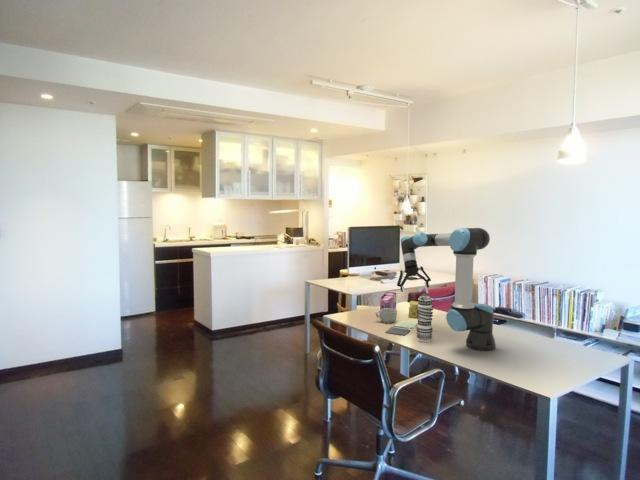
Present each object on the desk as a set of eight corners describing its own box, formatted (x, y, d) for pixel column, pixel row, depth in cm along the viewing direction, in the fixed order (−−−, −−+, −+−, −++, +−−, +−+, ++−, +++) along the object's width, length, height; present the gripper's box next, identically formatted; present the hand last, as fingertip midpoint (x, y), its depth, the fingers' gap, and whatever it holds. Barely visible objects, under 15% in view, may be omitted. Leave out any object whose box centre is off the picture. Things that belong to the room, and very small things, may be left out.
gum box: (390, 319, 290) (390, 299, 289) (379, 318, 293) (379, 298, 292) (396, 311, 312) (396, 292, 311) (385, 310, 315) (385, 291, 314)
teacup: (396, 320, 287) (396, 308, 287) (397, 324, 277) (397, 312, 276) (375, 319, 289) (375, 307, 288) (375, 323, 278) (375, 311, 277)
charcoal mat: (410, 330, 263) (410, 329, 263) (404, 335, 252) (404, 334, 252) (391, 328, 268) (391, 327, 268) (385, 333, 258) (385, 332, 258)
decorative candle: (435, 341, 243) (436, 297, 241) (421, 342, 240) (422, 298, 238) (427, 336, 251) (428, 294, 249) (413, 337, 249) (414, 295, 247)
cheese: (408, 318, 293) (408, 303, 292) (409, 314, 303) (410, 300, 302) (424, 319, 290) (424, 304, 289) (424, 315, 300) (425, 301, 299)
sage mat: (417, 324, 277) (417, 323, 277) (412, 329, 266) (412, 328, 266) (399, 322, 282) (399, 321, 282) (393, 326, 272) (393, 325, 272)
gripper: (431, 258, 262) (438, 292, 255) (391, 266, 270) (396, 299, 263) (429, 255, 256) (436, 290, 248) (388, 263, 264) (394, 297, 256)
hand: (416, 295), depth 255 cm, fingers open, 13 cm apart
